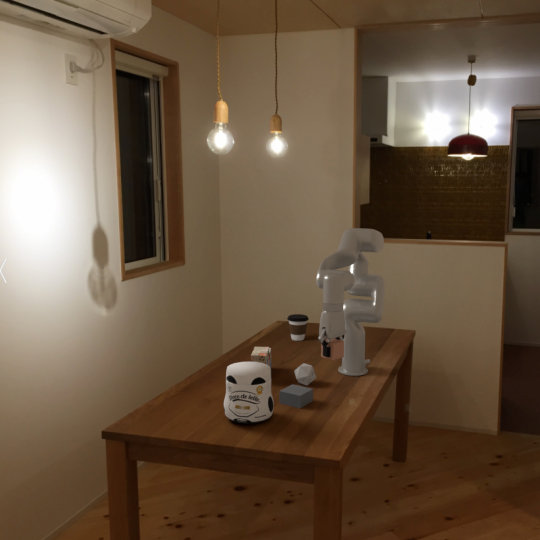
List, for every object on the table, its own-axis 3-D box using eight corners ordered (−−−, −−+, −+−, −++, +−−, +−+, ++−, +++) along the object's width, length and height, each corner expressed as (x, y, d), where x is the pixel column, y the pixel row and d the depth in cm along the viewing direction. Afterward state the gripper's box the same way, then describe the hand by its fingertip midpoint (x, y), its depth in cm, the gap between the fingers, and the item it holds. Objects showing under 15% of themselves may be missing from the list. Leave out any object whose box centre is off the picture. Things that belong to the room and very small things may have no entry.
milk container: (234, 431, 208) (233, 378, 205) (216, 413, 224) (216, 363, 221) (281, 423, 215) (282, 372, 212) (262, 406, 231) (262, 358, 228)
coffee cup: (288, 336, 329) (288, 313, 328) (309, 336, 328) (309, 314, 326) (285, 341, 319) (286, 318, 317) (307, 342, 317) (307, 319, 315)
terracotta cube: (331, 353, 238) (331, 338, 237) (343, 356, 234) (344, 341, 233) (320, 356, 234) (321, 341, 233) (333, 360, 230) (334, 344, 229)
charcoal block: (292, 396, 241) (292, 384, 240) (312, 401, 236) (313, 388, 235) (279, 403, 234) (279, 390, 233) (300, 409, 229) (300, 395, 228)
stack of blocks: (257, 368, 276) (257, 340, 274) (271, 368, 275) (271, 341, 274) (250, 384, 255) (250, 354, 253) (266, 384, 254) (266, 355, 252)
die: (295, 388, 251) (310, 371, 248) (286, 373, 257) (300, 356, 254) (309, 391, 256) (323, 375, 253) (300, 376, 262) (314, 360, 259)
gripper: (339, 302, 240) (338, 348, 243) (310, 309, 228) (309, 357, 230) (355, 305, 235) (354, 352, 237) (326, 312, 223) (325, 361, 225)
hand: (332, 354), depth 234 cm, fingers closed on terracotta cube, 6 cm apart
